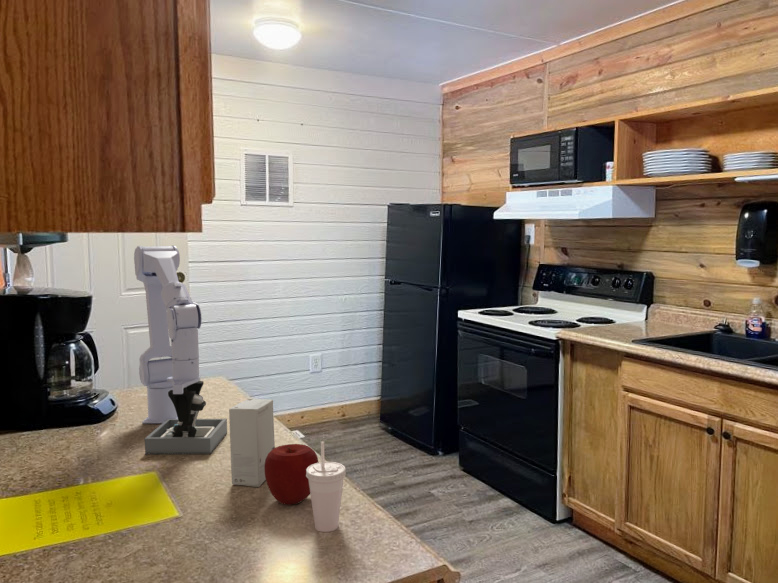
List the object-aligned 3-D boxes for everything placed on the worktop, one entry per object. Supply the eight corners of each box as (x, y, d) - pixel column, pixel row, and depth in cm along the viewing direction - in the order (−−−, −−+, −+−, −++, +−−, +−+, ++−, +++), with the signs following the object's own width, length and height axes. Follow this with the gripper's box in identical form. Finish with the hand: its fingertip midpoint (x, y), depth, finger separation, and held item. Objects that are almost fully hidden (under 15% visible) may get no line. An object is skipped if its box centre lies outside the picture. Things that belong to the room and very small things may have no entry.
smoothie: (318, 514, 104) (317, 434, 103) (352, 521, 102) (352, 438, 101) (299, 531, 98) (298, 446, 97) (335, 539, 96) (334, 451, 95)
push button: (167, 441, 135) (181, 399, 134) (161, 430, 139) (175, 389, 138) (196, 443, 139) (210, 402, 138) (189, 433, 143) (203, 393, 143)
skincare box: (259, 488, 115) (257, 410, 114) (229, 485, 117) (227, 408, 115) (276, 471, 123) (275, 398, 122) (248, 468, 125) (246, 396, 123)
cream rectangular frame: (171, 435, 144) (171, 426, 144) (215, 435, 144) (215, 426, 144) (159, 447, 136) (158, 438, 135) (205, 447, 136) (205, 438, 135)
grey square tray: (168, 433, 147) (167, 418, 146) (227, 433, 147) (226, 418, 146) (145, 454, 133) (144, 438, 132) (210, 454, 133) (210, 438, 133)
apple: (280, 486, 116) (279, 434, 115) (328, 492, 113) (327, 439, 112) (255, 507, 107) (253, 451, 106) (305, 515, 104) (304, 457, 103)
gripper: (175, 352, 145) (177, 408, 146) (157, 365, 130) (159, 428, 132) (206, 351, 145) (208, 408, 147) (191, 364, 131) (193, 427, 132)
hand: (187, 417), depth 139 cm, fingers closed on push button, 5 cm apart
